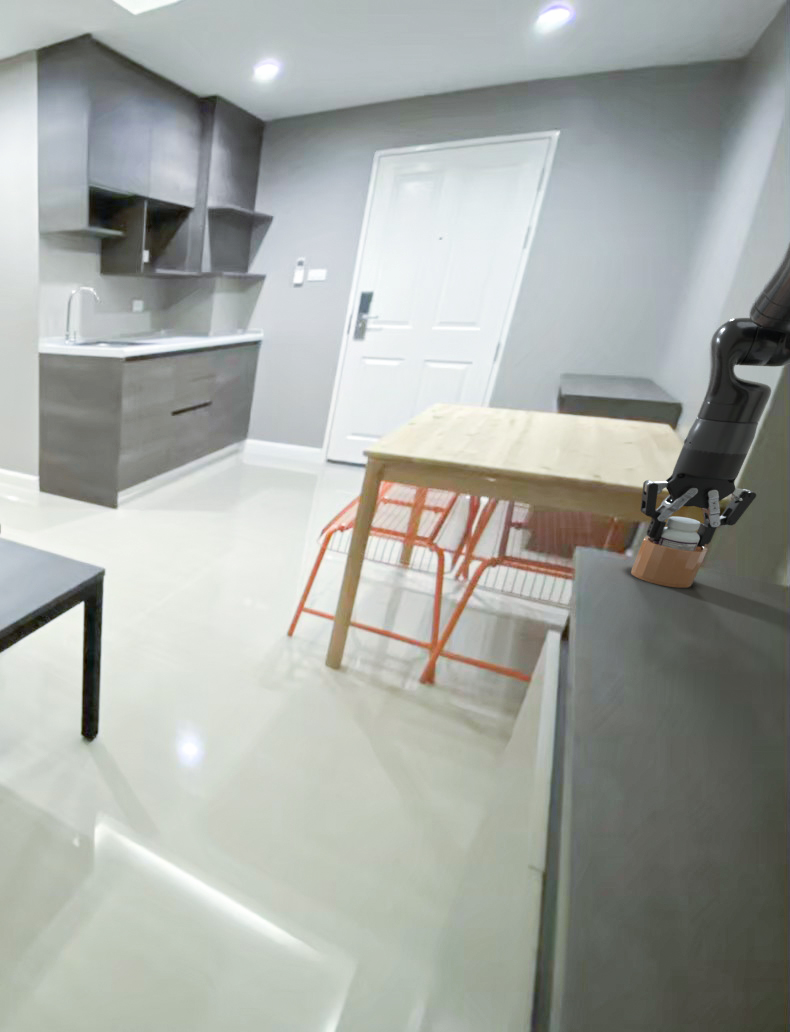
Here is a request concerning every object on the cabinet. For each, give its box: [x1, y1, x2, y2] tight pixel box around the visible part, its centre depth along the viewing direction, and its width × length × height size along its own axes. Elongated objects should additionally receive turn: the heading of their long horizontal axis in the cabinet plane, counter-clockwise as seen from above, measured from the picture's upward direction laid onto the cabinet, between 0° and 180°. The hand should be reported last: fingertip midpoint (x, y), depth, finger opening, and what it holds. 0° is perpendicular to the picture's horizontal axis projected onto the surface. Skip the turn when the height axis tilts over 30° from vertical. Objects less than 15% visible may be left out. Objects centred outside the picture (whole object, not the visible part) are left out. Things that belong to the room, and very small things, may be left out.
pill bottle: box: [653, 516, 701, 551], centre depth 106 cm, size 5×5×10 cm
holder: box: [630, 535, 708, 589], centre depth 108 cm, size 8×8×7 cm
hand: (675, 542), depth 106 cm, fingers closed on pill bottle, 5 cm apart
